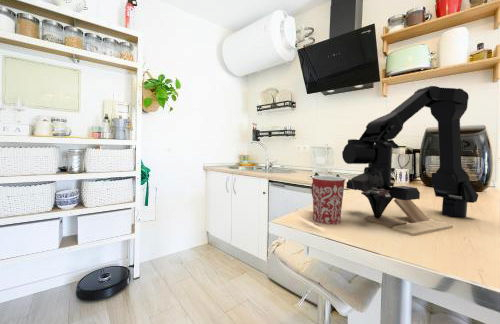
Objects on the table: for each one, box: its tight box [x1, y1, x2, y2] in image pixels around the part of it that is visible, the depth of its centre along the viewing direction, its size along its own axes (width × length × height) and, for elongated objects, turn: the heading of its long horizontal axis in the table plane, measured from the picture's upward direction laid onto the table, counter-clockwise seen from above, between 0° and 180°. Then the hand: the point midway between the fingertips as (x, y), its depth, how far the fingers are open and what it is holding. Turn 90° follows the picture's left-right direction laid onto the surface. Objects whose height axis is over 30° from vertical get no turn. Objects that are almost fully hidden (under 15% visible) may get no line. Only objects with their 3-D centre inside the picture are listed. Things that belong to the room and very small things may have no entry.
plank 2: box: [393, 198, 431, 223], centre depth 63 cm, size 6×8×1 cm
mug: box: [311, 175, 346, 227], centre depth 64 cm, size 13×9×14 cm
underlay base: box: [392, 219, 454, 237], centre depth 61 cm, size 16×14×2 cm
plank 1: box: [364, 214, 408, 229], centre depth 61 cm, size 6×8×1 cm
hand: (377, 217), depth 62 cm, fingers closed
